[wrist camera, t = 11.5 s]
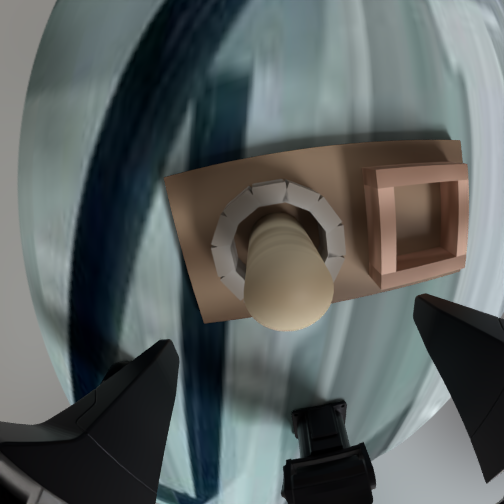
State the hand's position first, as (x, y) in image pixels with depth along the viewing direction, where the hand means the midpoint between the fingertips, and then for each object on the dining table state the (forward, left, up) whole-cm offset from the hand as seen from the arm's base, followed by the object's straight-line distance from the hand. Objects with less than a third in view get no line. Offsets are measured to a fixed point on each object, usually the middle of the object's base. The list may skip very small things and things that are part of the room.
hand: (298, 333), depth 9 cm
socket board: (0, -5, -12) cm, 13 cm away
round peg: (0, 0, -11) cm, 11 cm away
